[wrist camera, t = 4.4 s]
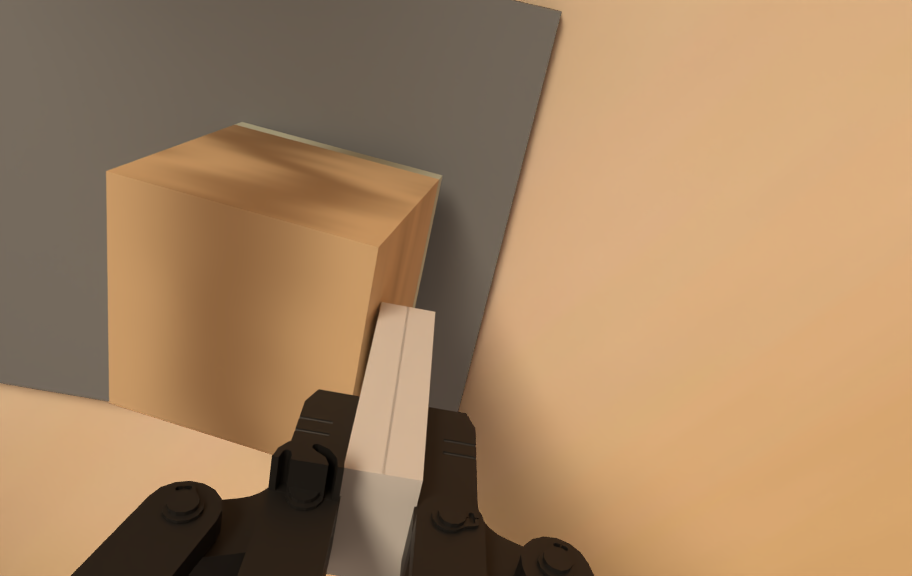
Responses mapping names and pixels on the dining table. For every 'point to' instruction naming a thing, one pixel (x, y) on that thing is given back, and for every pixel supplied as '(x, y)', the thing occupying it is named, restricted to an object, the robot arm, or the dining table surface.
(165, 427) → the dining table surface
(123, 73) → the slate mat
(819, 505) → the dining table surface
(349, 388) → the wooden block
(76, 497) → the dining table surface
